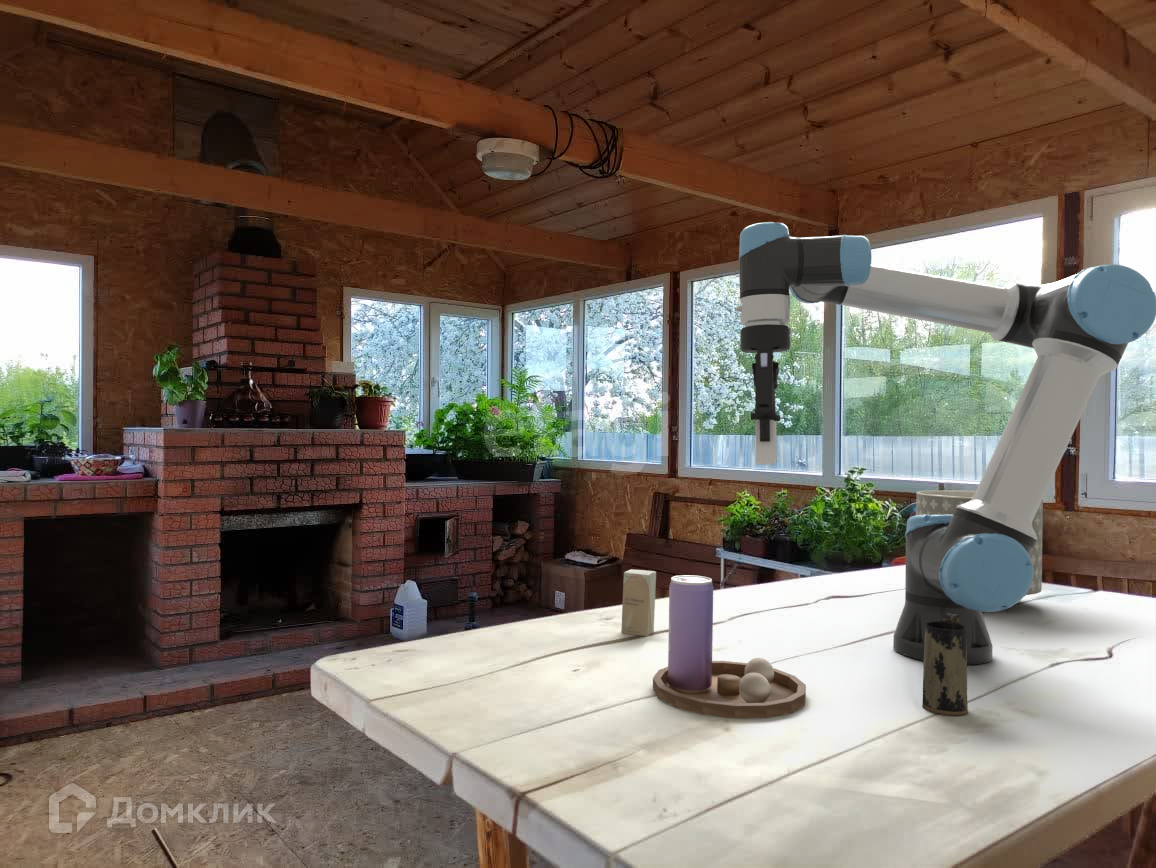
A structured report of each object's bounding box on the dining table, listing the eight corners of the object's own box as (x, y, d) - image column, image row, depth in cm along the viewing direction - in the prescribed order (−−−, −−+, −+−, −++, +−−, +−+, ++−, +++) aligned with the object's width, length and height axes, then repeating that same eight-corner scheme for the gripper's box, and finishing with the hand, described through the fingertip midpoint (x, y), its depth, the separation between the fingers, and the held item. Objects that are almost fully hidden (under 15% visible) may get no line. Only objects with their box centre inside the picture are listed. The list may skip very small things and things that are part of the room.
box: (620, 633, 147) (621, 571, 147) (628, 628, 151) (629, 568, 151) (648, 636, 145) (649, 574, 145) (655, 631, 149) (656, 570, 149)
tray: (807, 686, 118) (807, 665, 118) (802, 734, 98) (803, 709, 98) (669, 672, 123) (669, 652, 123) (639, 715, 104) (639, 691, 104)
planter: (1066, 615, 168) (1068, 499, 169) (943, 613, 169) (945, 497, 169) (1004, 592, 194) (1006, 491, 194) (897, 590, 194) (899, 489, 194)
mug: (963, 719, 105) (964, 625, 105) (917, 710, 108) (918, 619, 108) (974, 703, 111) (976, 615, 111) (931, 695, 114) (932, 609, 114)
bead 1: (774, 684, 115) (775, 656, 115) (772, 693, 111) (773, 663, 111) (745, 681, 116) (746, 653, 116) (742, 690, 112) (743, 660, 112)
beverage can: (710, 696, 109) (712, 583, 109) (665, 693, 110) (667, 581, 110) (712, 683, 115) (714, 576, 115) (669, 680, 116) (671, 574, 116)
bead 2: (771, 701, 108) (771, 670, 108) (768, 710, 104) (769, 679, 104) (740, 697, 109) (740, 667, 109) (736, 707, 105) (737, 675, 105)
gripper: (744, 336, 140) (746, 460, 140) (734, 315, 116) (736, 466, 116) (790, 334, 138) (792, 460, 138) (789, 313, 114) (791, 465, 114)
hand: (766, 463), depth 127 cm, fingers open, 13 cm apart
